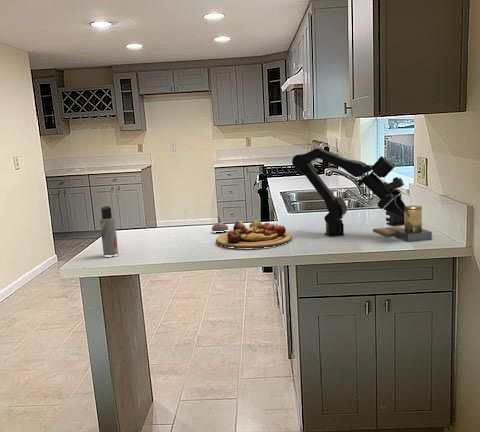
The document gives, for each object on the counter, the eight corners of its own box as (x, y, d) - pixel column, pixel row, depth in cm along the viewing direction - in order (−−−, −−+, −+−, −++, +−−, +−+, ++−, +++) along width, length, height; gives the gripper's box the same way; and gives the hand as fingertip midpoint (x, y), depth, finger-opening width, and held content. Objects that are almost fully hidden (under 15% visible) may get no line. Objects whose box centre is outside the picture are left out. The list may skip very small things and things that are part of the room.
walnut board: (386, 236, 199) (385, 234, 199) (372, 231, 211) (372, 228, 211) (413, 233, 202) (413, 231, 201) (398, 228, 213) (398, 226, 213)
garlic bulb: (210, 234, 227) (209, 217, 226) (214, 231, 234) (213, 214, 233) (226, 234, 225) (224, 217, 224) (230, 230, 232) (229, 214, 231)
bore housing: (408, 242, 188) (407, 234, 188) (395, 236, 198) (395, 229, 198) (431, 239, 190) (431, 231, 190) (418, 234, 200) (418, 227, 199)
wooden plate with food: (243, 255, 186) (242, 234, 184) (202, 241, 212) (201, 222, 211) (307, 242, 203) (307, 222, 202) (262, 231, 229) (262, 213, 228)
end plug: (409, 240, 190) (409, 208, 188) (401, 237, 197) (401, 206, 195) (425, 239, 191) (425, 207, 189) (416, 235, 198) (416, 205, 196)
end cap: (394, 226, 218) (394, 211, 217) (385, 224, 225) (384, 209, 224) (413, 224, 221) (413, 209, 220) (403, 221, 228) (403, 207, 226)
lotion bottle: (119, 253, 200) (114, 205, 197) (116, 257, 195) (111, 207, 191) (105, 254, 200) (100, 206, 197) (102, 258, 195) (96, 208, 191)
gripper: (385, 173, 185) (416, 202, 182) (395, 169, 202) (424, 195, 198) (365, 194, 190) (395, 223, 187) (376, 188, 207) (404, 214, 203)
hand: (405, 213), depth 194 cm, fingers open, 9 cm apart
